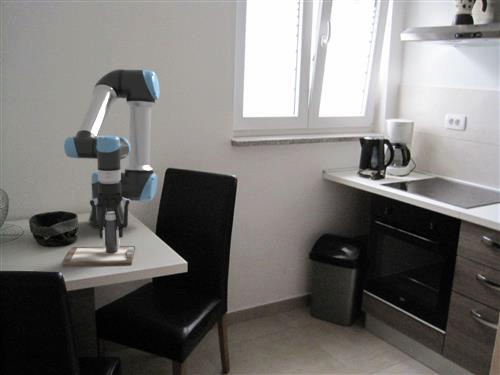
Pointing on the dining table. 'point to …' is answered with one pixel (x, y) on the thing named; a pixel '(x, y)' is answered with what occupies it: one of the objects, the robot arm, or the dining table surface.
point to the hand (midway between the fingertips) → (111, 246)
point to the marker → (111, 232)
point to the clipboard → (99, 256)
